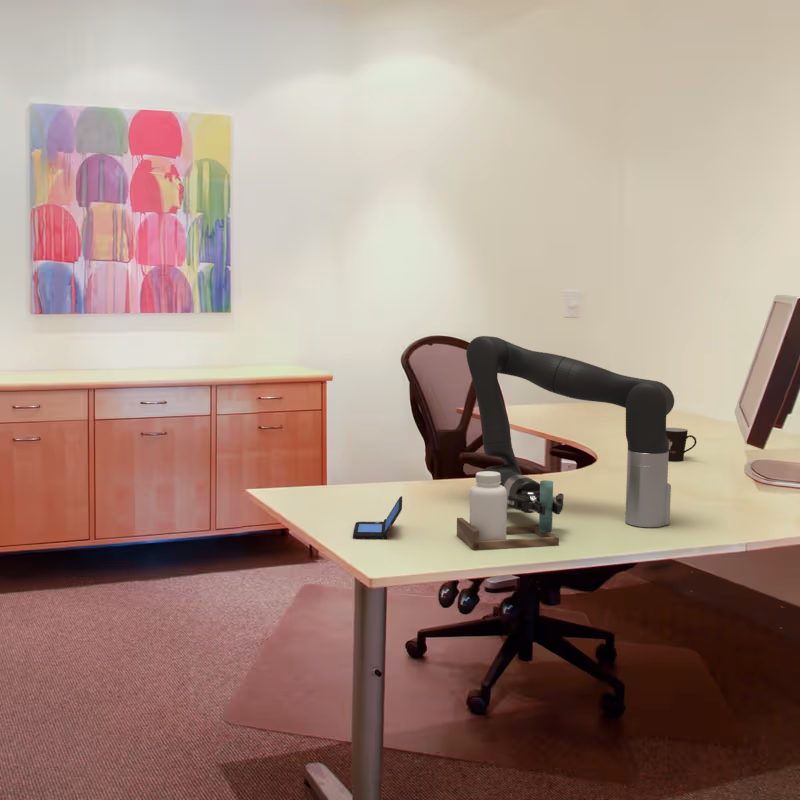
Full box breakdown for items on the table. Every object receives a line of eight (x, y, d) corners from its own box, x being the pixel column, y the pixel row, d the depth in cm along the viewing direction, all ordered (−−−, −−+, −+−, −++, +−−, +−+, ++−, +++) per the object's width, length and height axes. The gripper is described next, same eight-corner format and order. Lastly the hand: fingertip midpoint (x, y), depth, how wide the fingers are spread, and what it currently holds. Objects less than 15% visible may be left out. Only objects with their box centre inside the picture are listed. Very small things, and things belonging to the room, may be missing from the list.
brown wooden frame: (540, 531, 213) (542, 476, 211) (562, 545, 201) (563, 487, 199) (456, 535, 208) (457, 479, 207) (473, 550, 196) (474, 490, 195)
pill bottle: (461, 541, 203) (462, 472, 202) (486, 535, 209) (487, 468, 207) (488, 548, 198) (489, 478, 196) (513, 542, 203) (515, 473, 201)
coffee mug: (653, 458, 309) (654, 428, 307) (676, 457, 311) (677, 427, 310) (674, 464, 298) (675, 433, 296) (697, 463, 300) (699, 432, 299)
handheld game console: (355, 526, 217) (355, 494, 216) (402, 526, 217) (402, 495, 216) (352, 540, 205) (352, 507, 204) (401, 541, 204) (402, 507, 204)
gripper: (495, 478, 217) (520, 494, 201) (552, 476, 220) (582, 491, 204) (494, 510, 218) (520, 528, 202) (551, 507, 221) (581, 525, 205)
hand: (551, 509), depth 203 cm, fingers closed on brown wooden frame, 3 cm apart
